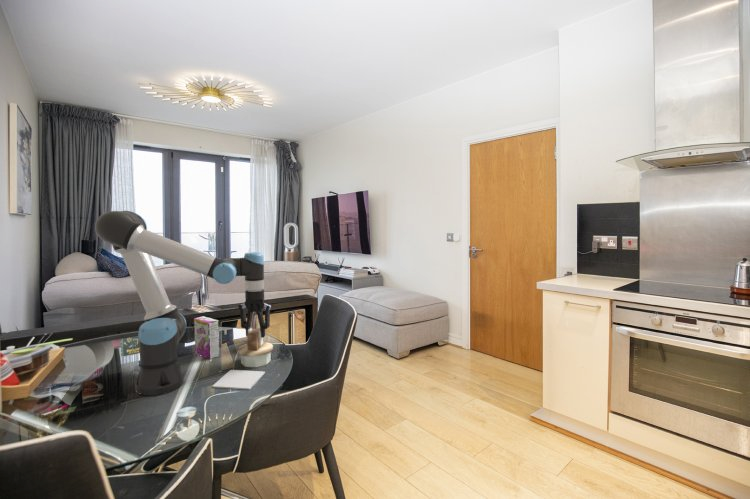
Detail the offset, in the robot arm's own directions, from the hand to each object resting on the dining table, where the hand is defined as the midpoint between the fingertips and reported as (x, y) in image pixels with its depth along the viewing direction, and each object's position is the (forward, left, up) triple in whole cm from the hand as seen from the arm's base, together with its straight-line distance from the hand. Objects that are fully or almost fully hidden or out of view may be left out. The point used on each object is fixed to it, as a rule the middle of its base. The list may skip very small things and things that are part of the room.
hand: (255, 344), depth 153 cm
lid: (0, 0, -3) cm, 3 cm away
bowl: (0, 0, -8) cm, 8 cm away
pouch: (-8, +19, -8) cm, 22 cm away
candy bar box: (-24, +4, -8) cm, 26 cm away
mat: (+1, -17, -8) cm, 19 cm away
